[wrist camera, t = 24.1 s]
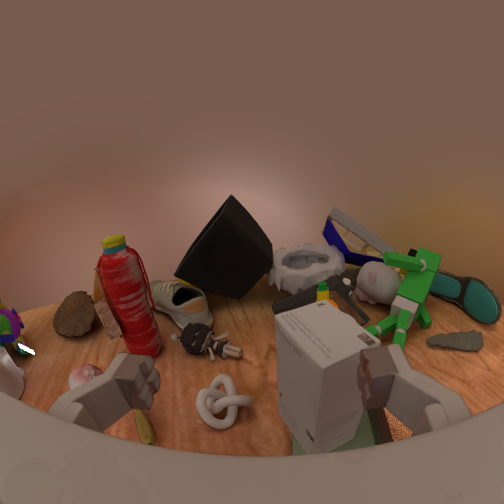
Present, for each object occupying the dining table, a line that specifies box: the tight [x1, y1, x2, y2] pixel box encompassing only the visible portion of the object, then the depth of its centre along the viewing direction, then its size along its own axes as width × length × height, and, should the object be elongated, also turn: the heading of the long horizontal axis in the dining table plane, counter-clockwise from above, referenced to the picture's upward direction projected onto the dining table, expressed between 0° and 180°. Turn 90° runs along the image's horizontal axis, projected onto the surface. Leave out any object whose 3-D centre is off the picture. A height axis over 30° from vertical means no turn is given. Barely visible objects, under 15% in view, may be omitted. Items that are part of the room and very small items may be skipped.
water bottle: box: [94, 234, 162, 358], centre depth 48 cm, size 12×8×25 cm, turn 119°
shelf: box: [292, 407, 393, 456], centre depth 27 cm, size 10×12×9 cm
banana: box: [134, 409, 156, 446], centre depth 32 cm, size 10×2×4 cm, turn 32°
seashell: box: [53, 291, 97, 337], centre depth 62 cm, size 19×9×15 cm
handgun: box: [271, 272, 370, 326], centre depth 55 cm, size 19×2×12 cm
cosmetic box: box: [274, 299, 381, 455], centre depth 24 cm, size 8×6×15 cm
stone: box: [427, 330, 483, 351], centre depth 40 cm, size 13×2×5 cm
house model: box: [322, 207, 395, 267], centre depth 71 cm, size 19×20×7 cm
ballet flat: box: [430, 269, 502, 324], centre depth 50 cm, size 8×25×9 cm
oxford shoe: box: [145, 280, 213, 330], centre depth 68 cm, size 11×29×8 cm, turn 40°
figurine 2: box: [171, 323, 243, 363], centre depth 52 cm, size 7×6×15 cm
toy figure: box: [316, 282, 339, 309], centre depth 49 cm, size 7×4×12 cm, turn 23°
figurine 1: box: [0, 300, 29, 355], centre depth 47 cm, size 18×14×20 cm
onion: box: [68, 364, 103, 390], centre depth 38 cm, size 8×8×7 cm
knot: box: [196, 374, 254, 429], centre depth 36 cm, size 8×8×6 cm
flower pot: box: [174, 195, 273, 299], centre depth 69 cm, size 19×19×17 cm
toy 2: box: [364, 248, 442, 351], centre depth 47 cm, size 14×15×30 cm
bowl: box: [266, 244, 345, 295], centre depth 70 cm, size 21×20×10 cm
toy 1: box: [354, 261, 402, 306], centre depth 57 cm, size 10×15×10 cm, turn 35°
